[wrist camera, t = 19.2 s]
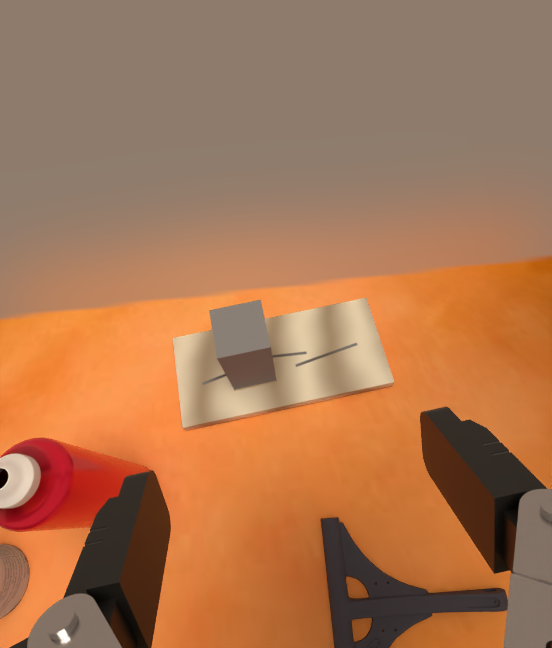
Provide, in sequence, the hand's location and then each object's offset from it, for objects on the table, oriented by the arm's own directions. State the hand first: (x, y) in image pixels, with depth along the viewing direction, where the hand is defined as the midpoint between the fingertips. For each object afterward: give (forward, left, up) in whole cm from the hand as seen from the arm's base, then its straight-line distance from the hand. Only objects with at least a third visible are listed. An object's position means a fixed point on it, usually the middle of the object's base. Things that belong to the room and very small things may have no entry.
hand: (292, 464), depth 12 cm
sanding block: (+2, -14, -29) cm, 32 cm away
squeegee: (-8, +10, -32) cm, 34 cm away
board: (-1, -14, -31) cm, 34 cm away
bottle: (+16, -4, -31) cm, 35 cm away
